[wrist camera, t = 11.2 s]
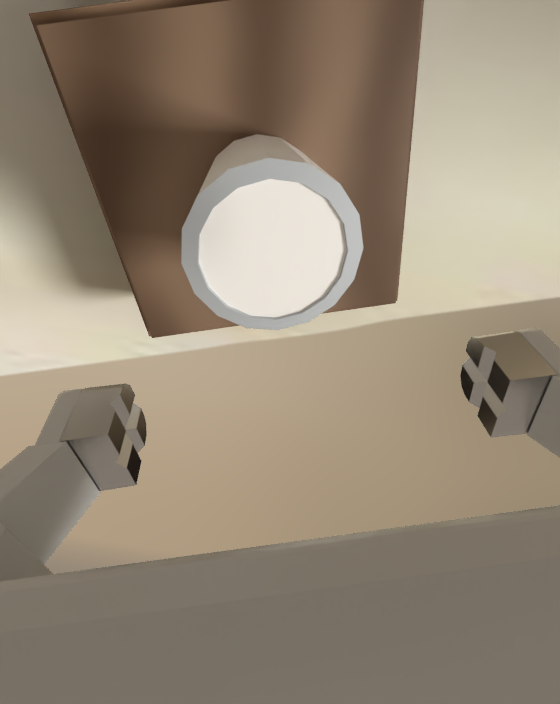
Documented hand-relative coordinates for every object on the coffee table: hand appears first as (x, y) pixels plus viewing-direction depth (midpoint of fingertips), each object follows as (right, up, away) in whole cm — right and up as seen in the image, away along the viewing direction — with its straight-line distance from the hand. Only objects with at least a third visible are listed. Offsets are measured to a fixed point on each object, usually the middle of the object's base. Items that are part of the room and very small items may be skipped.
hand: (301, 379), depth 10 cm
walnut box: (-2, +12, +16) cm, 20 cm away
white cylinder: (-2, +9, +11) cm, 14 cm away
